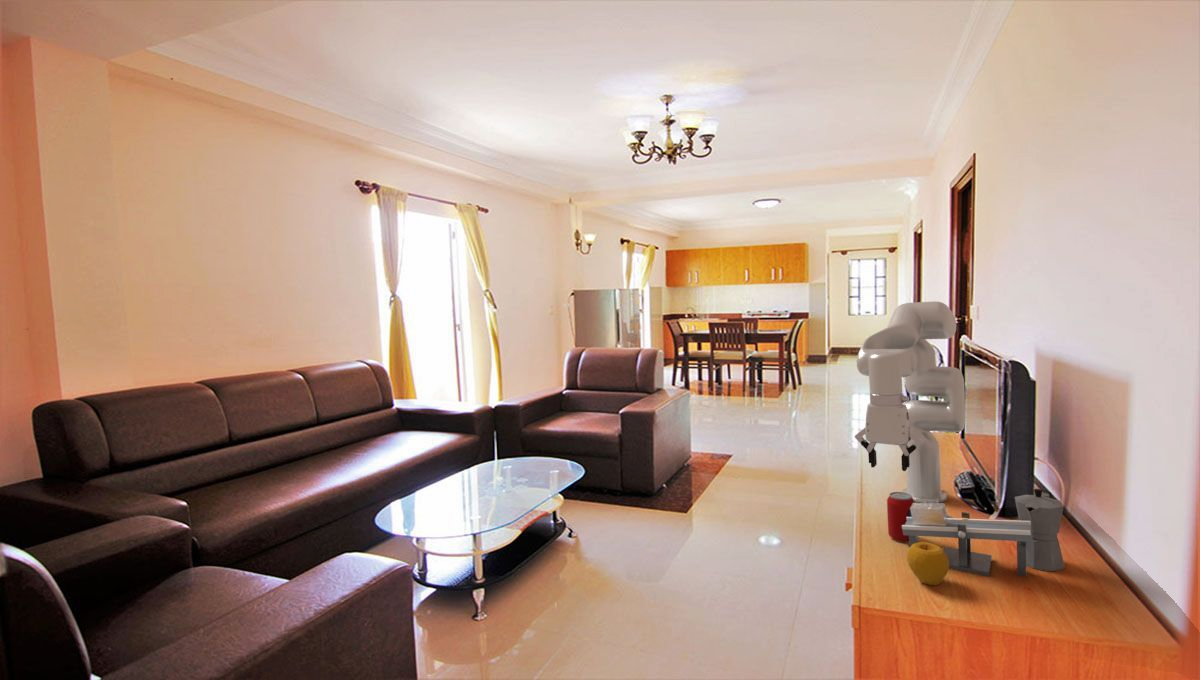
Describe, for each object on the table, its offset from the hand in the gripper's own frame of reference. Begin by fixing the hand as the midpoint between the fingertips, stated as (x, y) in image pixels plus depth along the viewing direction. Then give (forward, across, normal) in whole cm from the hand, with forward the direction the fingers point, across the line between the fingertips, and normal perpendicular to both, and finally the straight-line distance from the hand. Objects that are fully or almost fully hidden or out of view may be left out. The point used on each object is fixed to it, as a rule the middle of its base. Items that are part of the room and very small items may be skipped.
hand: (889, 467), depth 142 cm
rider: (+14, -9, 0) cm, 17 cm away
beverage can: (+22, -1, -8) cm, 23 cm away
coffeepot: (+22, -30, -10) cm, 39 cm away
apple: (+22, -10, +14) cm, 28 cm away
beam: (+14, -16, 0) cm, 22 cm away
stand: (+22, -16, 0) cm, 27 cm away
